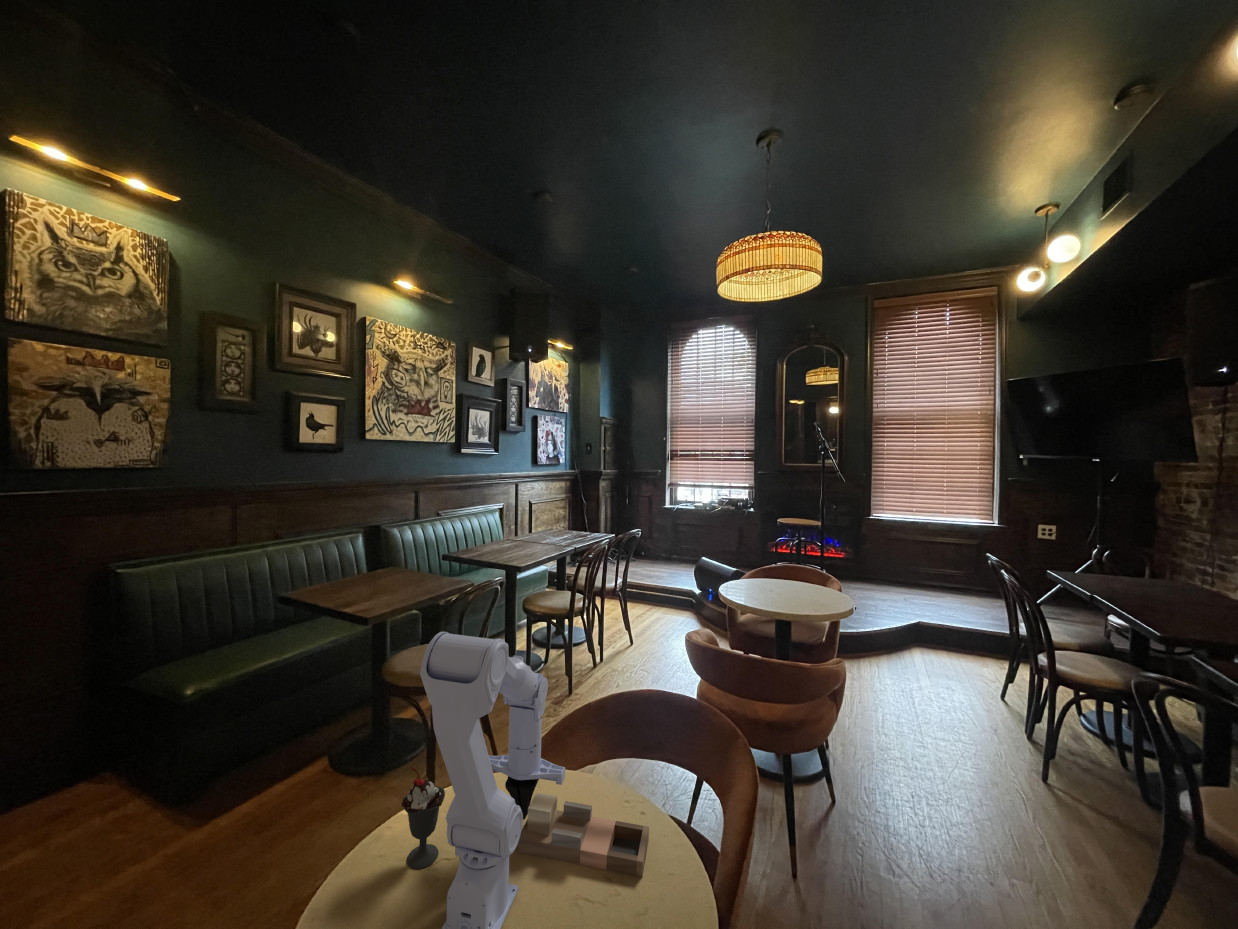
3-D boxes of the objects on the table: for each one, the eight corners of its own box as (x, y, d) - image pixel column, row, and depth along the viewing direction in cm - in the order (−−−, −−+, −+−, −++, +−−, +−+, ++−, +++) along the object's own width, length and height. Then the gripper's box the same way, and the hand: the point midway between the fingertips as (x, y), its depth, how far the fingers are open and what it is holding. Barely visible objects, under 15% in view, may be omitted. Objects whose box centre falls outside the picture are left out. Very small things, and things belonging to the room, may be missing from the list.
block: (549, 835, 84) (550, 812, 84) (527, 830, 85) (528, 808, 85) (556, 818, 88) (557, 796, 88) (535, 814, 89) (536, 792, 88)
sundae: (400, 848, 83) (401, 762, 83) (441, 836, 86) (443, 752, 86) (400, 879, 77) (402, 787, 77) (445, 865, 80) (447, 776, 80)
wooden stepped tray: (642, 877, 79) (643, 850, 79) (517, 852, 83) (518, 826, 83) (648, 840, 87) (649, 815, 86) (533, 819, 91) (534, 795, 90)
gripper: (570, 733, 89) (568, 805, 90) (496, 722, 92) (494, 793, 92) (558, 756, 82) (556, 835, 83) (478, 744, 85) (477, 820, 85)
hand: (523, 815), depth 87 cm, fingers closed
